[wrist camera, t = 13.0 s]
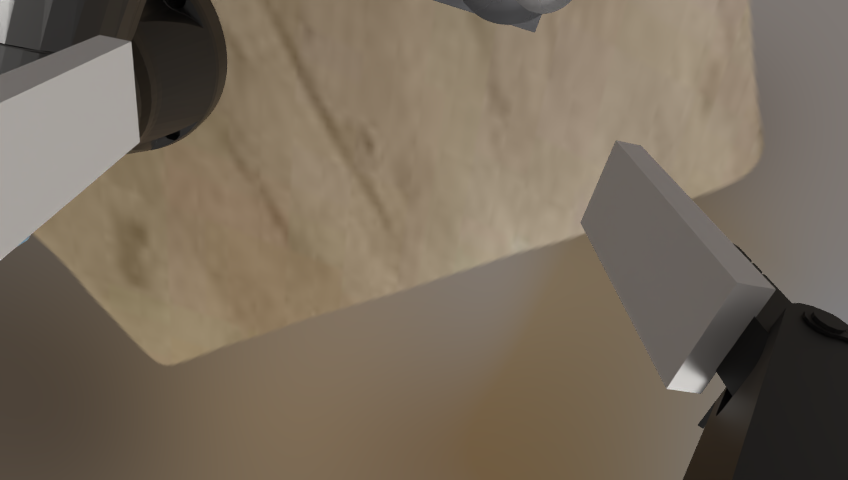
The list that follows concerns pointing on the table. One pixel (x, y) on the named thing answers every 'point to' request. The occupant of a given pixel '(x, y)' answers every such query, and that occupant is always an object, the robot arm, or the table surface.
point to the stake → (509, 10)
